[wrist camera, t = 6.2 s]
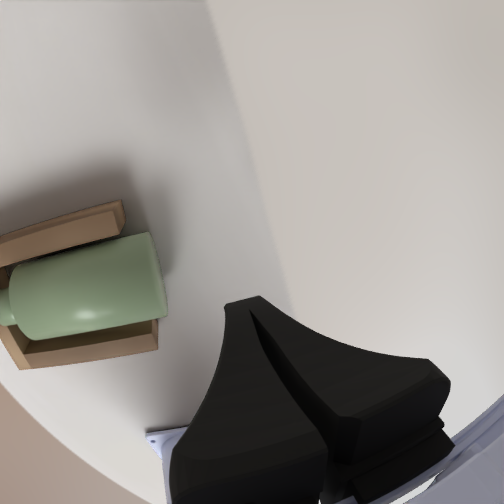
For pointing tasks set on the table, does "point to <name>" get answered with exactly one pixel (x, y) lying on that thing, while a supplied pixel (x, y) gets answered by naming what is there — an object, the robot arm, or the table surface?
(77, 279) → the bottle
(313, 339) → the robot arm
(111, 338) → the u rest
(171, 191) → the table surface
